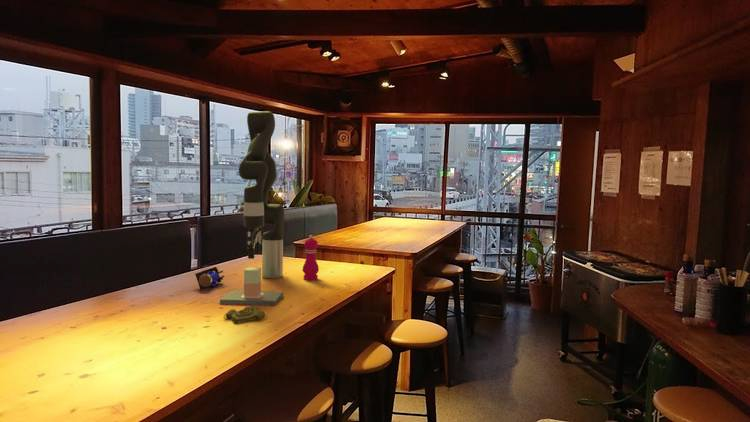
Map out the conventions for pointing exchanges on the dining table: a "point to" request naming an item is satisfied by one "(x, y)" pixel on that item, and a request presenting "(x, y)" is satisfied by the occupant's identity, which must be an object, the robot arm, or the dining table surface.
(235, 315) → the spaceship toy
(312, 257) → the pepper mill
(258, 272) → the sage block
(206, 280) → the character figurine
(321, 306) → the dining table surface
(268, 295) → the base plate
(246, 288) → the terracotta block
